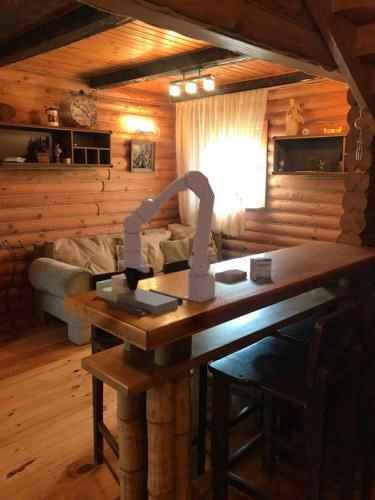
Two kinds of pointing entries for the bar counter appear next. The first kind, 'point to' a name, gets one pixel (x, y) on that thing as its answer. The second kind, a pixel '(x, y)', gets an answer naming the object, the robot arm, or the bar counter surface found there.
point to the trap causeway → (138, 300)
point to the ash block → (120, 284)
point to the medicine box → (260, 268)
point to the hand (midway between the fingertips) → (133, 289)
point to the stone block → (231, 276)
